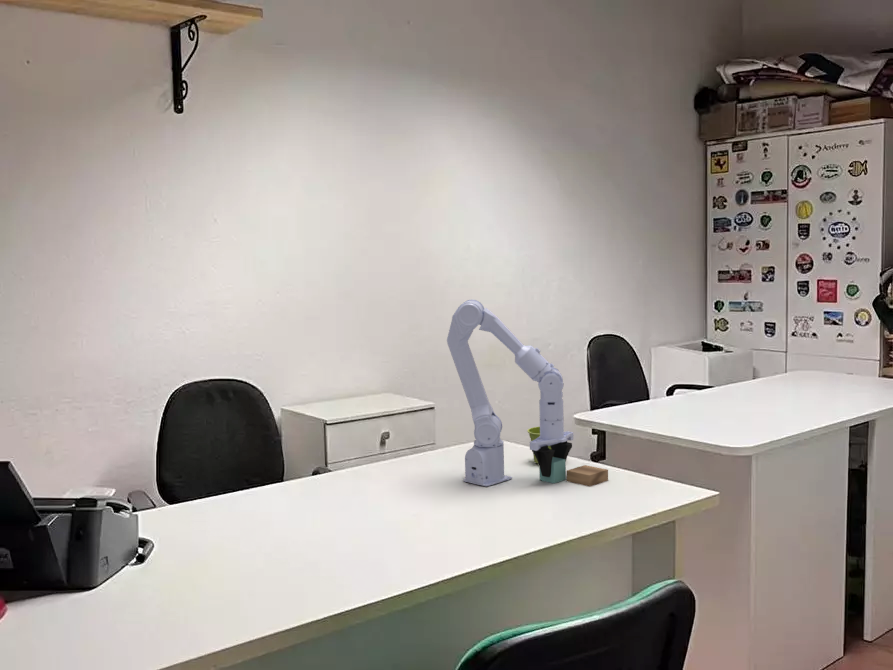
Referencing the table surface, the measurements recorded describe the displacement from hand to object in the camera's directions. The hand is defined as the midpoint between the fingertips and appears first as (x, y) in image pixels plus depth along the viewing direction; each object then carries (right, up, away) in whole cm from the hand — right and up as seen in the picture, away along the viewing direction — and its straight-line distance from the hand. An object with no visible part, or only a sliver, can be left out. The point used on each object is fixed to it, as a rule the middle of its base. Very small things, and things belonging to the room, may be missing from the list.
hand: (552, 474), depth 217 cm
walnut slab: (+8, -2, -2) cm, 9 cm away
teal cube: (0, -1, 0) cm, 1 cm away
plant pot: (0, 0, +17) cm, 17 cm away
